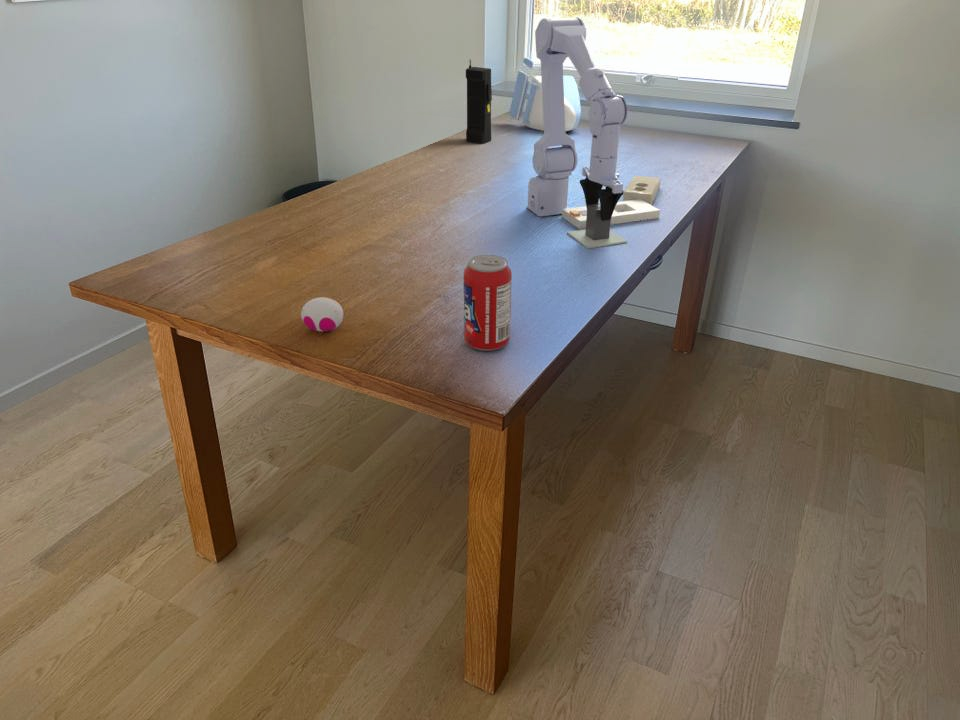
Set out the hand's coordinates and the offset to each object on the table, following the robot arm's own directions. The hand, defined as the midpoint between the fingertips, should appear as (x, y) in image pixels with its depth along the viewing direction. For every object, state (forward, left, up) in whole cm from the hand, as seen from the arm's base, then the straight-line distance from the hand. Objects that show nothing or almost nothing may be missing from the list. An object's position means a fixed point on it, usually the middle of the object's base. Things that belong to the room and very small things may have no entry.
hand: (598, 215), depth 169 cm
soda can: (-42, -37, -6) cm, 56 cm away
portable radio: (+7, +91, -6) cm, 91 cm away
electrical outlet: (+26, +22, -6) cm, 35 cm away
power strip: (+10, +11, -5) cm, 16 cm away
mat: (0, 0, -5) cm, 5 cm away
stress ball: (-67, -22, -6) cm, 71 cm away
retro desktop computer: (+37, +100, -6) cm, 107 cm away
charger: (0, 0, -5) cm, 5 cm away
